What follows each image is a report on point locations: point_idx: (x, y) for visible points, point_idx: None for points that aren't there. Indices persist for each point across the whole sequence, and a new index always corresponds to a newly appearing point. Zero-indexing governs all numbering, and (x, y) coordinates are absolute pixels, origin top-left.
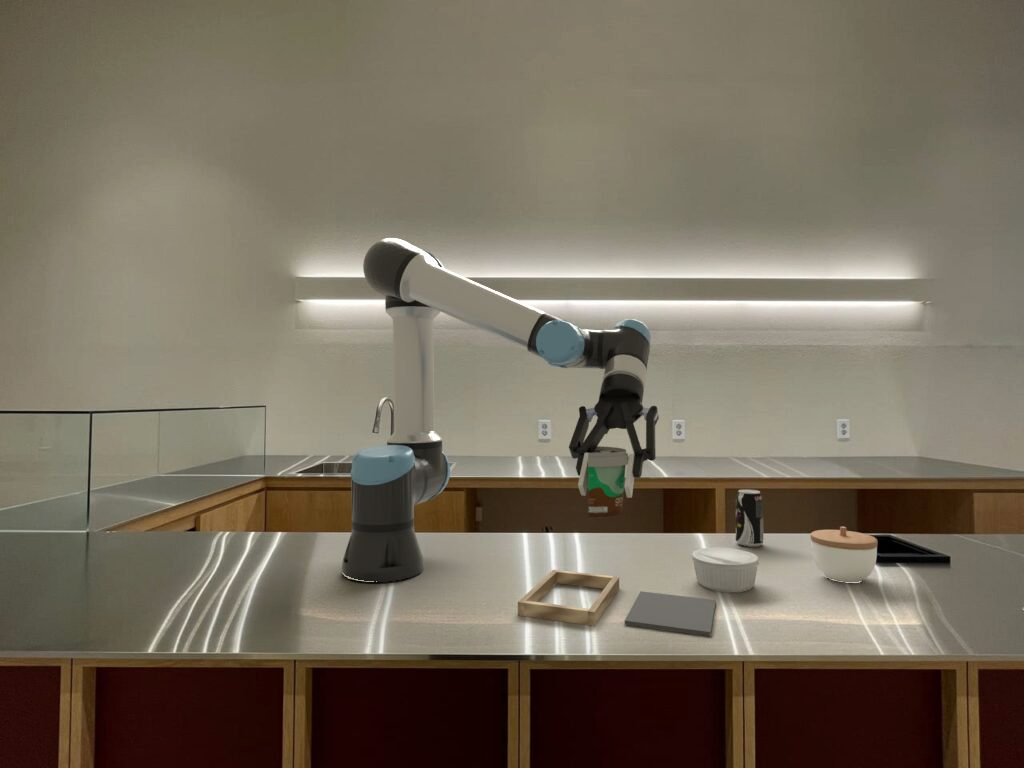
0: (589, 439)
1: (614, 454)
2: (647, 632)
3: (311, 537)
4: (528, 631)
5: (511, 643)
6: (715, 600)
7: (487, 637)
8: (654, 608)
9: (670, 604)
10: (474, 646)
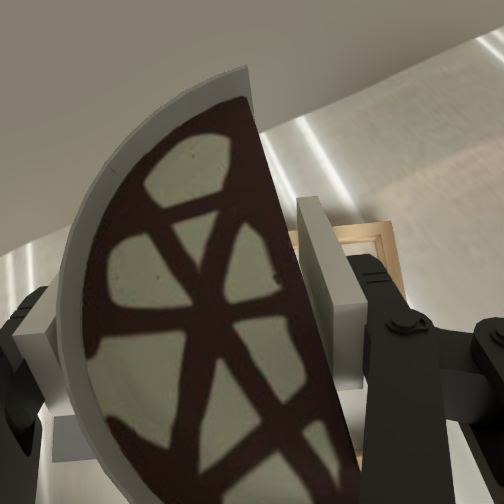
0: (401, 421)
1: (111, 166)
2: None
3: None
4: (333, 177)
5: (334, 130)
6: (52, 459)
7: (377, 132)
8: None
9: None
10: (375, 100)
